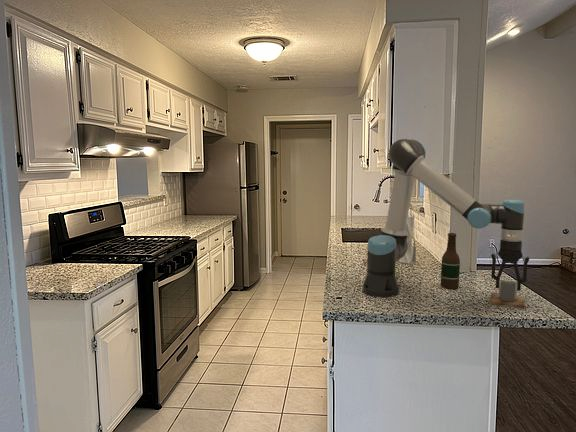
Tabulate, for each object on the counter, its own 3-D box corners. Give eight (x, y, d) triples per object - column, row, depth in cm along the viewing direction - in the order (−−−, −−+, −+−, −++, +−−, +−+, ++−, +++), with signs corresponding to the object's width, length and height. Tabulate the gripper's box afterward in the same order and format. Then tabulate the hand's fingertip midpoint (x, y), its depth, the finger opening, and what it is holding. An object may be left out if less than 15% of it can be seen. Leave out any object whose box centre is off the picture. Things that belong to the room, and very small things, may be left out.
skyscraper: (411, 265, 230) (413, 212, 226) (396, 263, 234) (397, 211, 231) (416, 262, 237) (418, 211, 233) (401, 260, 241) (403, 210, 238)
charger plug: (499, 300, 170) (500, 285, 170) (500, 293, 179) (501, 278, 178) (514, 302, 168) (515, 287, 167) (514, 294, 177) (515, 280, 176)
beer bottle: (462, 288, 189) (465, 234, 186) (445, 289, 188) (448, 235, 185) (452, 283, 197) (455, 231, 194) (436, 284, 196) (439, 232, 192)
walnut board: (489, 303, 171) (489, 300, 170) (491, 294, 181) (491, 292, 181) (524, 308, 165) (524, 305, 165) (523, 299, 176) (524, 296, 175)
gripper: (485, 239, 171) (481, 296, 174) (538, 243, 162) (533, 303, 165) (486, 236, 177) (483, 291, 180) (537, 239, 169) (533, 297, 172)
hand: (507, 297), depth 173 cm, fingers closed on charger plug, 5 cm apart
